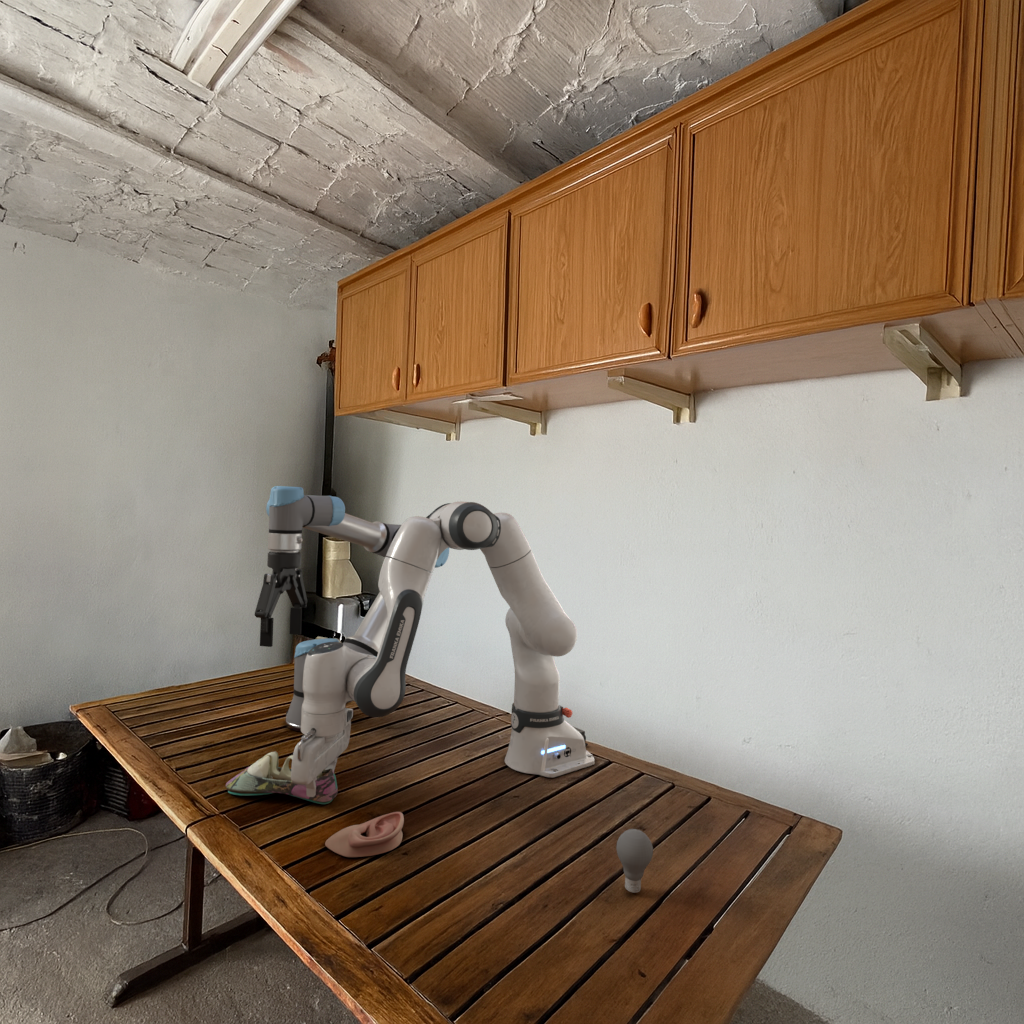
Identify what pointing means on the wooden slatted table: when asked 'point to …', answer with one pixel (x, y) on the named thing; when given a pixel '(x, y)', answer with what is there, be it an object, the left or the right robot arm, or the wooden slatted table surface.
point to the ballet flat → (280, 781)
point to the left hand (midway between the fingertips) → (281, 640)
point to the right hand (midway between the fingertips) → (320, 787)
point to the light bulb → (634, 857)
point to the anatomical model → (368, 837)
